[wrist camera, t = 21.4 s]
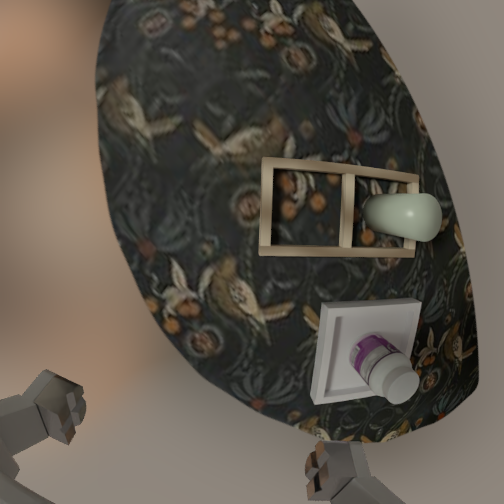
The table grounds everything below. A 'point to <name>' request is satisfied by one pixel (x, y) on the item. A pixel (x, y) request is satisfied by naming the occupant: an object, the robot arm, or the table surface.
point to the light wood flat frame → (346, 209)
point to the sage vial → (404, 215)
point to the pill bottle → (383, 367)
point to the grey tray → (347, 331)
